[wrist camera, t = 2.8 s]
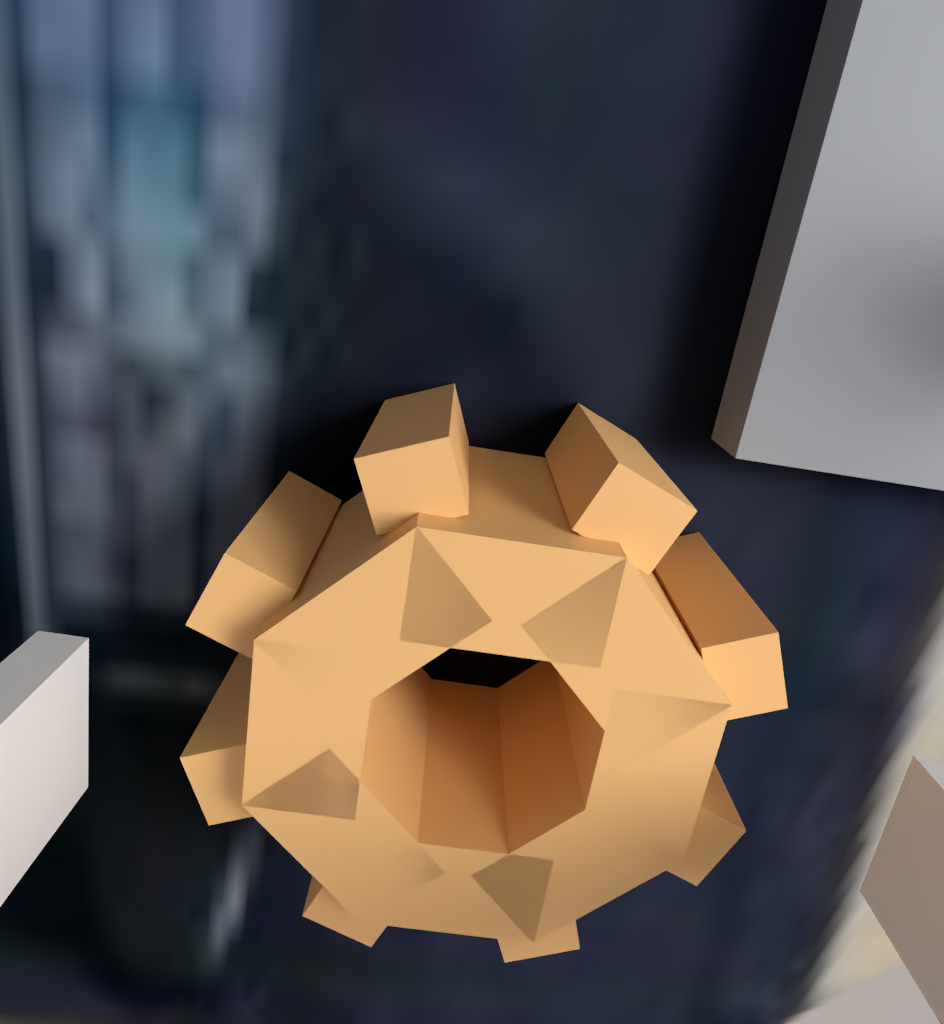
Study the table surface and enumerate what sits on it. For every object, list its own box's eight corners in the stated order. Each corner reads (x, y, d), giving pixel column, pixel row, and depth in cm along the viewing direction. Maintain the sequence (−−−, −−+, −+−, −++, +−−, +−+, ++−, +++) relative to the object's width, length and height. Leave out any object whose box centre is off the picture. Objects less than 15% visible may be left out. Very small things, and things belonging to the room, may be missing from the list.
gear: (240, 766, 18) (159, 952, 13) (271, 354, 15) (179, 406, 10) (643, 818, 19) (703, 1015, 14) (753, 430, 15) (878, 512, 11)
